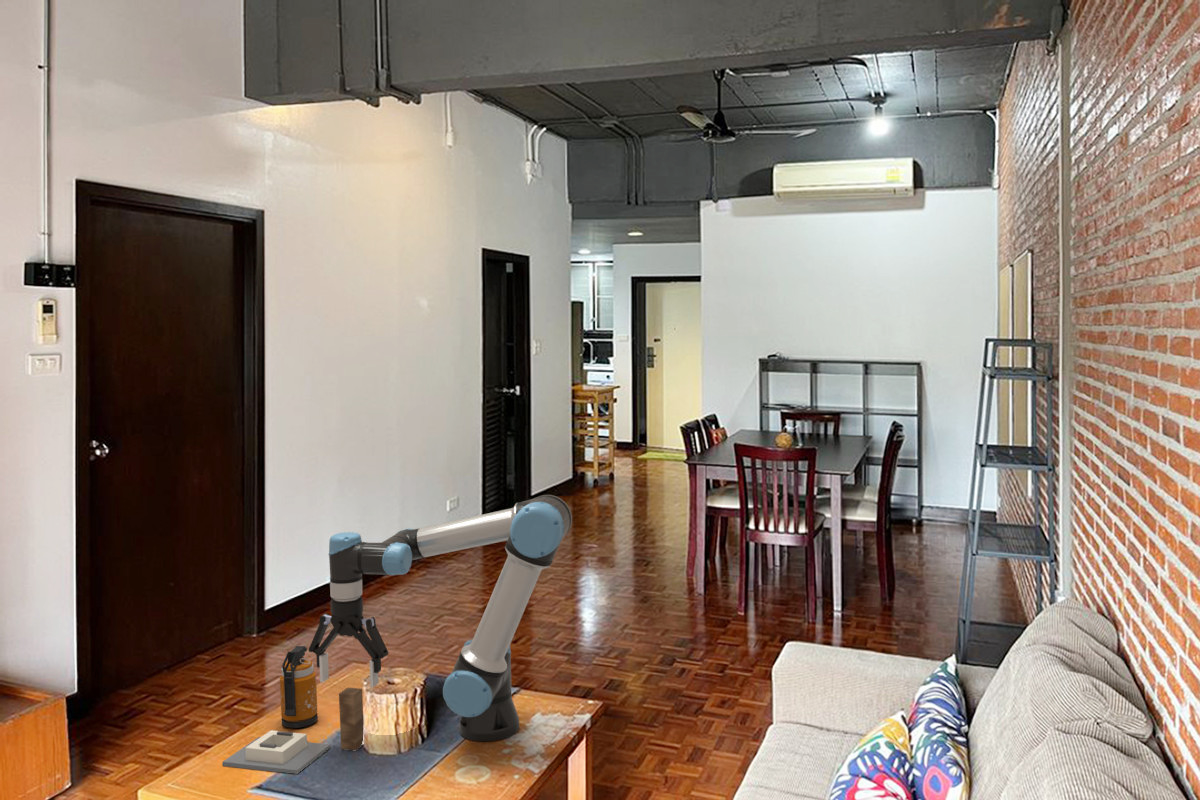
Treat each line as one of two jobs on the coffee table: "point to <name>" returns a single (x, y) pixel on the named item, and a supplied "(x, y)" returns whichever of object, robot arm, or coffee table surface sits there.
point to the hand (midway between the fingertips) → (349, 683)
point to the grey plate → (277, 753)
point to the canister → (298, 690)
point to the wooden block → (351, 718)
